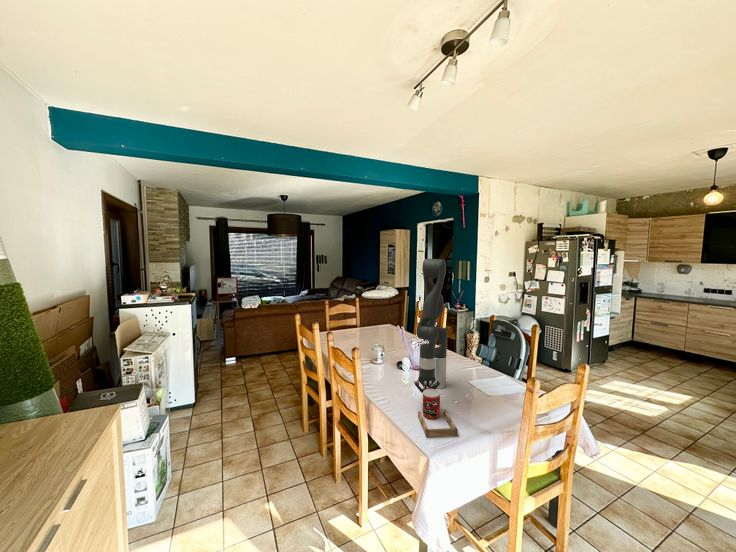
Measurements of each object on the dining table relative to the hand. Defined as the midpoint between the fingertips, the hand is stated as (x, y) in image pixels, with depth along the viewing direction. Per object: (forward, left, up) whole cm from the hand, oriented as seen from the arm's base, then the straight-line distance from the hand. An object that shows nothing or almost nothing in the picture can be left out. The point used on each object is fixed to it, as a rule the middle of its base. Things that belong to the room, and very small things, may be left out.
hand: (426, 400), depth 150 cm
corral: (+17, 0, -3) cm, 17 cm away
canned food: (+8, 0, -4) cm, 9 cm away
